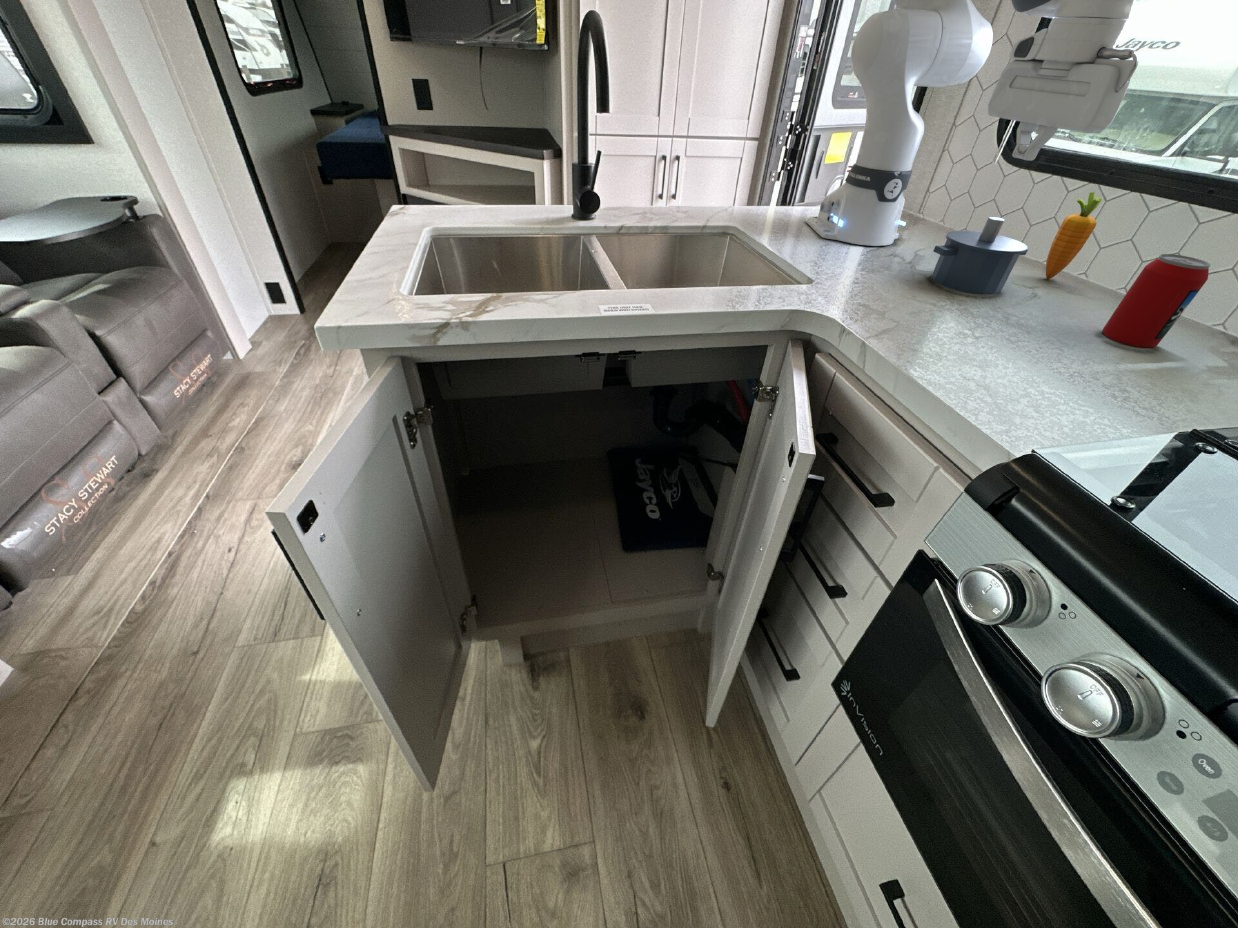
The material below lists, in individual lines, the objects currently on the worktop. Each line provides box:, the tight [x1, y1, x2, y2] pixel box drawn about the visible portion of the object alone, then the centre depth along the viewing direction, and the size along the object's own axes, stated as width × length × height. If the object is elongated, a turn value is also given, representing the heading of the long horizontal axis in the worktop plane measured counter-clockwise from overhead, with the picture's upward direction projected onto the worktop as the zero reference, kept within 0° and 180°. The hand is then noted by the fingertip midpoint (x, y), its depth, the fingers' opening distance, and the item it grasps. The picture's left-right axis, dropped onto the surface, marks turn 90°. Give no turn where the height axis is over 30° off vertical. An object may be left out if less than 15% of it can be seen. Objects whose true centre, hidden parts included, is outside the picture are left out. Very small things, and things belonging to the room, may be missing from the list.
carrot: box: [1045, 191, 1103, 280], centre depth 95 cm, size 5×5×15 cm
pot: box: [930, 239, 1029, 296], centre depth 91 cm, size 11×17×8 cm
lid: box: [945, 216, 1028, 254], centre depth 88 cm, size 12×12×5 cm
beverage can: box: [1102, 253, 1211, 349], centre depth 73 cm, size 7×7×12 cm
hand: (1022, 158), depth 81 cm, fingers closed
